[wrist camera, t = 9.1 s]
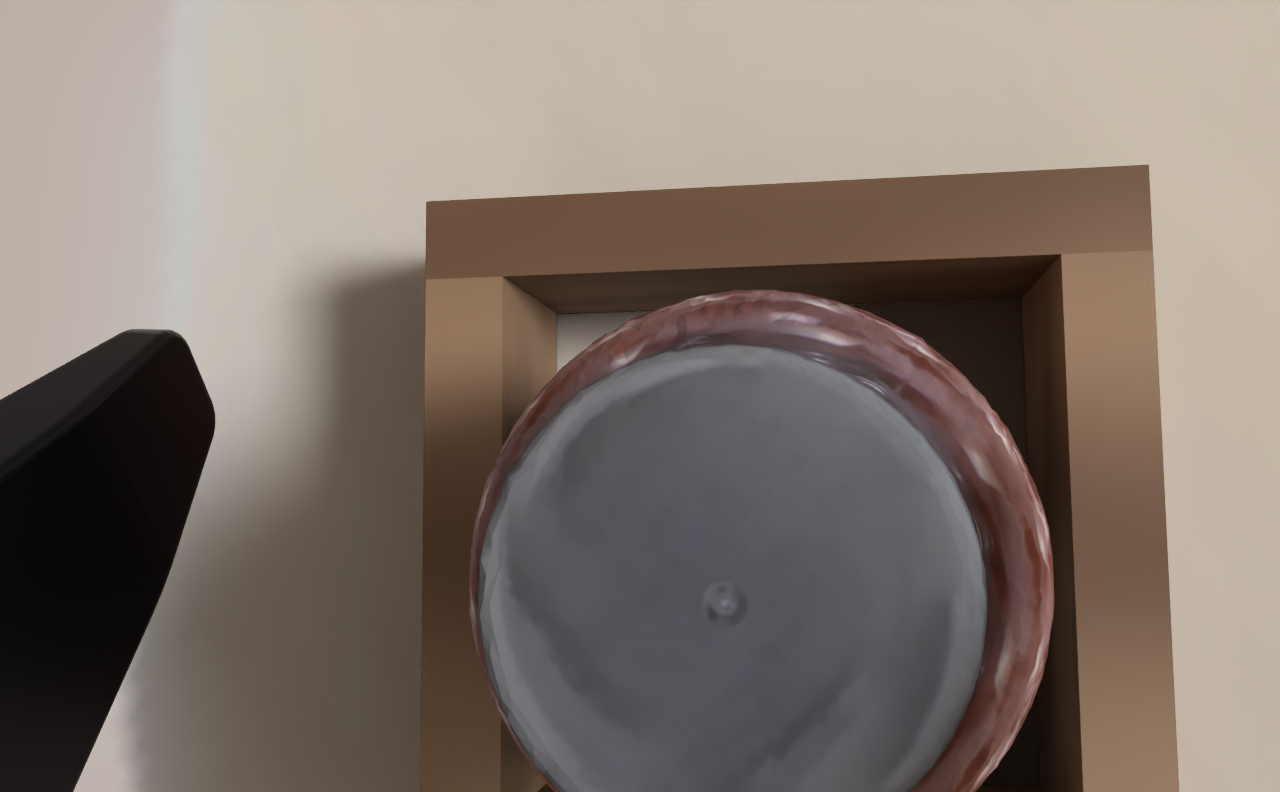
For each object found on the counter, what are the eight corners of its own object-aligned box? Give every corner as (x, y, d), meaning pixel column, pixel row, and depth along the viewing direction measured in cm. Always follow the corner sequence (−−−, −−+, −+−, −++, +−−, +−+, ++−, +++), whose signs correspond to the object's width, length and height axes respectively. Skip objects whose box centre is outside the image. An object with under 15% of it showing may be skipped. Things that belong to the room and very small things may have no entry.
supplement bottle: (1029, 472, 20) (1293, 428, 8) (870, 795, 19) (923, 1184, 8) (708, 318, 21) (562, 100, 9) (556, 624, 21) (231, 766, 9)
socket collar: (1122, 867, 19) (1186, 949, 15) (489, 841, 20) (419, 910, 17) (1094, 224, 20) (1148, 164, 16) (492, 250, 21) (426, 201, 18)
